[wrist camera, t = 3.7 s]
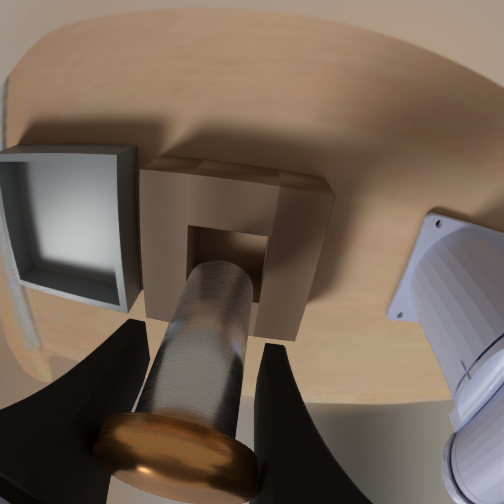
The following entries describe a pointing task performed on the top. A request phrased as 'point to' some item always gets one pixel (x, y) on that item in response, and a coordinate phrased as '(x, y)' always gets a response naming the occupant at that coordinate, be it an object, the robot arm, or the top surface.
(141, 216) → the holder block
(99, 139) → the top surface
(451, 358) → the robot arm
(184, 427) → the pin
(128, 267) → the tray
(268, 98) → the top surface
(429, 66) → the top surface
